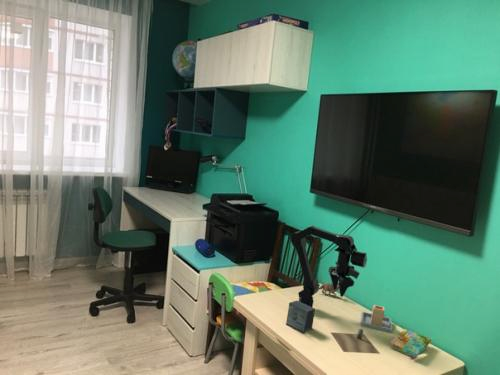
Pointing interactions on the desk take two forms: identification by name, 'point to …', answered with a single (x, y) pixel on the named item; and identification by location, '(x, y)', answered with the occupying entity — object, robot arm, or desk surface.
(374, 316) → the wooden pen holder
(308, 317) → the small box
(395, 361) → the desk surface
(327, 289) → the dinosaur figurine
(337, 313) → the desk surface
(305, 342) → the desk surface
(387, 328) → the grey tray
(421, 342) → the puzzle game
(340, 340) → the walnut stake base
